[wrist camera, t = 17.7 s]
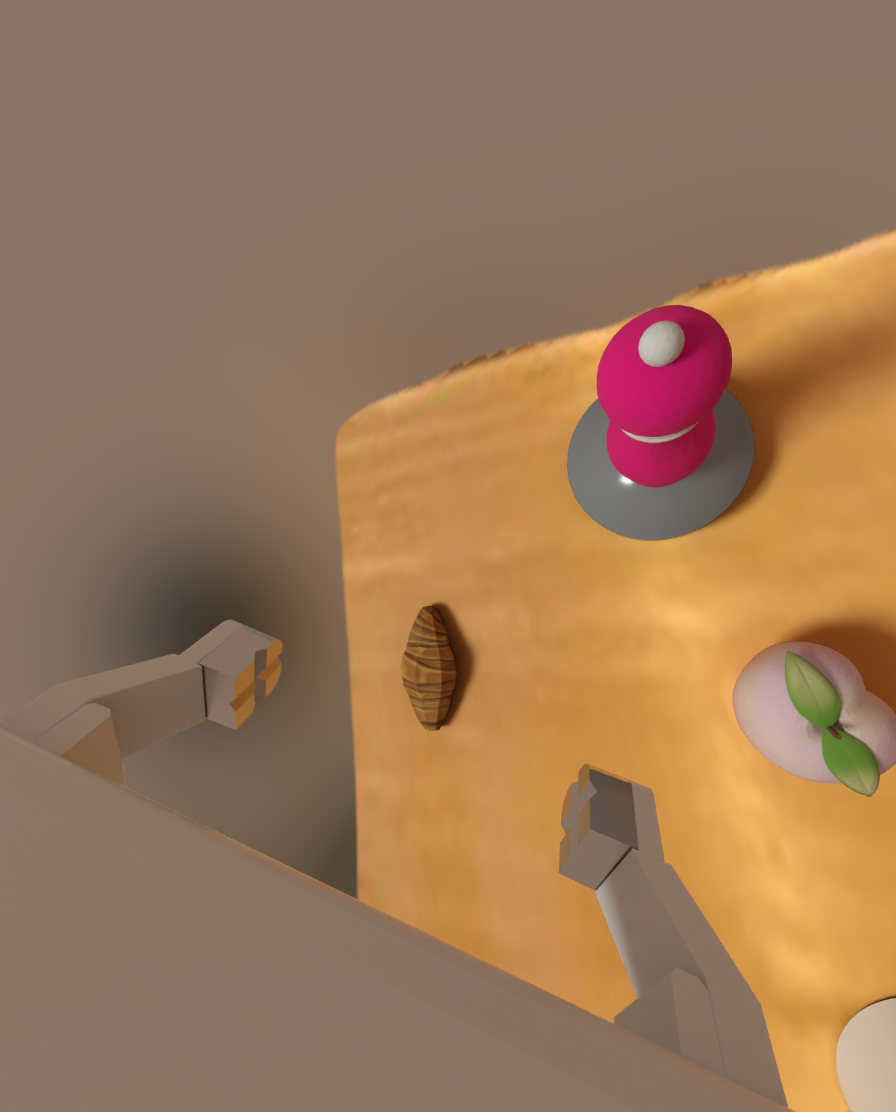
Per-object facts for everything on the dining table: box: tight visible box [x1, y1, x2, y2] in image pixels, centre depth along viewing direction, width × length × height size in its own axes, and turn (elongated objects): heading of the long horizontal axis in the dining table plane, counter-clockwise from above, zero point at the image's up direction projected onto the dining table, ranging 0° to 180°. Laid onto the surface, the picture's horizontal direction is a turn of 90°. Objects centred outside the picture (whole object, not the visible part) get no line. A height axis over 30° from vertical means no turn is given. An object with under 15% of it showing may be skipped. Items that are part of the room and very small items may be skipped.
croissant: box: [401, 606, 457, 731], centre depth 46 cm, size 14×7×5 cm, turn 2°
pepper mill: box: [597, 305, 732, 487], centre depth 27 cm, size 7×7×20 cm
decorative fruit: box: [733, 641, 896, 797], centre depth 30 cm, size 9×8×10 cm
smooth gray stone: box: [567, 389, 754, 541], centre depth 37 cm, size 14×14×3 cm
